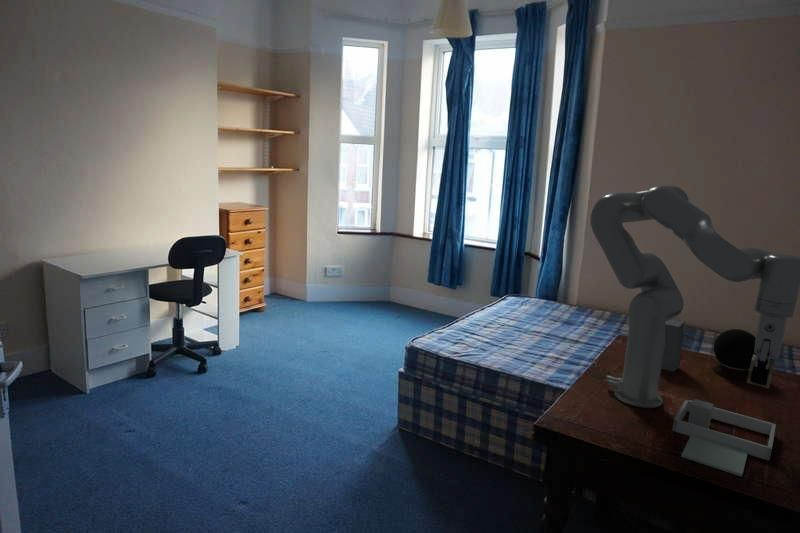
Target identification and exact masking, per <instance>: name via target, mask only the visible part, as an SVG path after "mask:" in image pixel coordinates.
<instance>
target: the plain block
mask: <svg viewBox="0 0 800 533" xmlns="http://www.w3.org/2000/svg"><path fill="white" fill-rule="evenodd" d="M692 401H693V402H692V404H691V408H690V412H689V414H688V420H687V422H688V423H691V424H695V425H698V426H701V427H705V428H708V429H710V426H711V420H712V418H711V416H712V410H713V407H714V403H710V402H708V401H704V400H700V399H696V398H693V400H692Z"/></svg>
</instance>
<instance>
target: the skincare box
mask: <svg viewBox="0 0 800 533" xmlns="http://www.w3.org/2000/svg"><path fill="white" fill-rule="evenodd" d="M684 330H685V322H683V321H680V320H673V319H670V320H668V321H666V322H665V335H666V338H665V347H664V354H663V360H662V367H661V370H663V371H664V370H665V371H667V372H673V373H675V372H676V371H677V370H678V368H680V365H681V359H682V349H683V340H684Z"/></svg>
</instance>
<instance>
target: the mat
mask: <svg viewBox="0 0 800 533" xmlns="http://www.w3.org/2000/svg"><path fill="white" fill-rule="evenodd" d="M748 455H749V454H748V452H746V451H743V450H740V449H736V448H733V447H730V446H727V445H723V444H720V443H717V442H714V441H710V440H707V439H704V438H701V437H698V436H694V435H691V436H689V439H688V441H687V442H686V444H685V446H684V449H683V451H682V453H681V456H680V457H681V458H684V459H687V460H690V461H693V462H696V463H698V464H702V465H706V466H708V467H711V468H713V469H717V470H719V471H720V470H721V471H723V472H725V473H726V472H727V473H729V474H733V475H735V476H738V477H743V474H744V471H745V465H746V462H747V461H746V460H747V458H748Z"/></svg>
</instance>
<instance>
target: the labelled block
mask: <svg viewBox="0 0 800 533" xmlns="http://www.w3.org/2000/svg"><path fill="white" fill-rule="evenodd" d="M756 357H757V355H754V354H753V357H752V360H751V365H750V369H748V370H749V374H748V379H747V381H746V383H747V384H750V385H753V386H757V387H761V388H765V389H770V385H771V382H772V376H773V373H774V372H773V371H774V368H775V362H776V359H775V358H771V359H770V364H769V368H768V369H770V370H769V374H768V379H767V383H766V385H762V384H758V383H754V382H751V381H750V380H751V375H752V370H753V366H754V365H755V362H756ZM759 358H760V357H759ZM766 360H768V359H767V358H766ZM757 366H758V365H757Z"/></svg>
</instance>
